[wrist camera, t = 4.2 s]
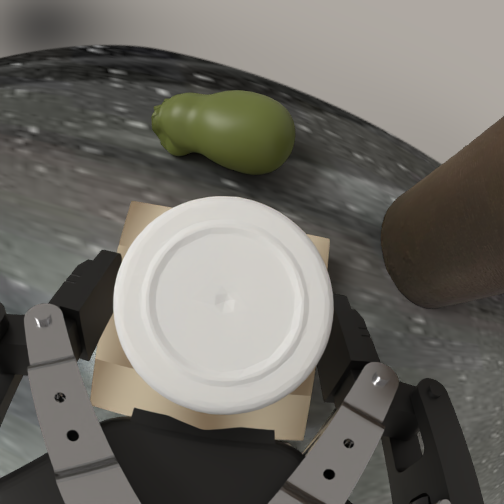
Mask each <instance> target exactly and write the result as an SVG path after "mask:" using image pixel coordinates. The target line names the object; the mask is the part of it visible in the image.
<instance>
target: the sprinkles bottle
mask: <svg viewBox="0 0 504 504" xmlns="http://www.w3.org/2000/svg"><path fill="white" fill-rule="evenodd" d="M333 304H334V302H333V292H332V286H331V281H330V277H329V274H328V271H327V268H326V266H325V263H324V261H323V259H322V257H321V255H320V253H319V252H318V250H317V248H316V247H315V245H314V244H313V242H312V241H311V240H310V238H309V237H308V236H307V235H306V233H305V232H304V231H303V230H302V229H301V228H300V227H298V226H297V225H296V224H295V223H294V222H293V221H291V220H290V219H289V218H287V217H286V216H285V215H283V214H282V213H280V212H278V211H276V210H275V209H273V208H271V207H269V206H266V205H264V204H261V203H259V202H256V201H253V200H249V199H244V198H240V197H229V196H214V197H206V198H201V199H196V200H192V201H189V202H186V203H183V204H181V205H178V206H176V207H174V208H172V209H170V210H168V211H166V212H164V213H163V214H162V215H160V216H158V217H157V218H155V219H154V220H153V221H152V222H151V223H149V224H148V225H147V226H146V227H145V229H144V230H143V231H142V232H141V233H140V234H139V235H138V236H137V237H136V239H135V240H134V241H133V243H132V244H131V246H130V247H129V249H128V251H127V253H126V255H125V257H124V258H123V260H122V263H121V265H120V268H119V271H118V274H117V278H116V282H115V287H114V298H113V311H114V321H115V326H116V330H117V334H118V337H119V340H120V343H121V346H122V348H123V350H124V352H125V354H126V356H127V358H128V360H129V361H130V363H131V365H132V366H133V368H134V369H135V371H136V372H137V374H138V375H139V376H140V377H141V378H142V379H143V380H144V381H145V382H146V383H147V384H148V385H149V386H150V387H151V388H152V389H154V390H155V391H156V392H158V393H159V394H160V395H162V396H163V397H165V398H166V399H168V400H170V401H172V402H174V403H176V404H178V405H180V406H183V407H185V408H188V409H191V410H194V411H197V412H202V413H207V414H216V415H232V414H241V413H247V412H251V411H255V410H259V409H262V408H264V407H267V406H269V405H271V404H273V403H276V402H277V401H279V400H281V399H282V398H284V397H285V396H287V395H288V394H290V393H291V392H293V391H294V390H295V389H296V388H297V387H299V386H300V385H301V383H302V382H304V381H305V380H306V378H307V377H308V376H309V375H310V373H311V372H312V371H313V369H314V368H315V366H316V365H317V363H318V362H319V360H320V358H321V356H322V354H323V352H324V350H325V348H326V345H327V343H328V340H329V336H330V332H331V328H332V322H333V312H334V307H333Z"/></svg>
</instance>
